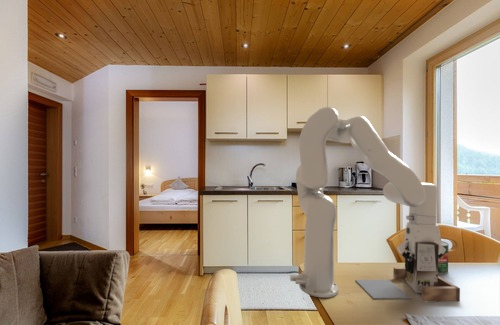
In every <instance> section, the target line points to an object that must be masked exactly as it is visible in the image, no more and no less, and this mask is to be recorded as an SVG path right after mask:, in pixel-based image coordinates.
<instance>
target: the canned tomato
mask: <svg viewBox="0 0 500 325" xmlns="http://www.w3.org/2000/svg"><path fill="white" fill-rule="evenodd" d="M449 244H450V243H448V242H446V241H442V240H441V245H442V246H443V247H444V248H445V249H446V251H445V252H444V254H443V256H442V257H441V258H440V259H439V262H438V275H447V274H448V273H449Z"/></svg>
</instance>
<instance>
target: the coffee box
mask: <svg viewBox="0 0 500 325" xmlns="http://www.w3.org/2000/svg"><path fill="white" fill-rule="evenodd" d="M406 251H407V250H405V252H406ZM410 254H411V253H410ZM410 254H409V255H410ZM438 254H439V245H438V244H436V243H432V242H431V243H430V242H424V243H416V255H414V258H413V260H412V261H413V262H414V270H413V274H411V273H409V272H408V271H406V270H405V280H404V281H405V282H406V283H407V284H408V286H409V287H410V288H412V290H413V291H414V292H415V293H417V294H422V287H437V282H438V276H439V273H438Z"/></svg>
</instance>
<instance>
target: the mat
mask: <svg viewBox="0 0 500 325" xmlns="http://www.w3.org/2000/svg"><path fill="white" fill-rule="evenodd" d="M354 281H355V282H356V283H357V284H358V285H359V286H360V287H361V288H362V290H364V291H365V292H366V293H367V294H368V295H369V297H371V299H373V300H411V299H412V296H410V295H409V294H407V292H404V291H403V290H402V289H401V288H400V287H399V286H397V285H396V284H395V283H394V282H392V281H391V280H389V279H355V280H354Z"/></svg>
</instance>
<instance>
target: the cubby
mask: <svg viewBox="0 0 500 325" xmlns="http://www.w3.org/2000/svg"><path fill="white" fill-rule="evenodd" d="M392 271H393V274H392V275H393V277H392V278H393V279H394V280H395V281H405V266H402V267H398V266H397V267H396V266H395V267H393V270H392ZM460 300H461V288H460V287H458V286H457V285H455V284H453V283H451V282H449V281H448V280H446V279H444V278H443V277H441V276H439V275H438V282H437V287H422V293H421V301H422V302H424V303H426V302H427V303H429V302H430V303H431V302H434V303H436V302H461V301H460Z"/></svg>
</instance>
